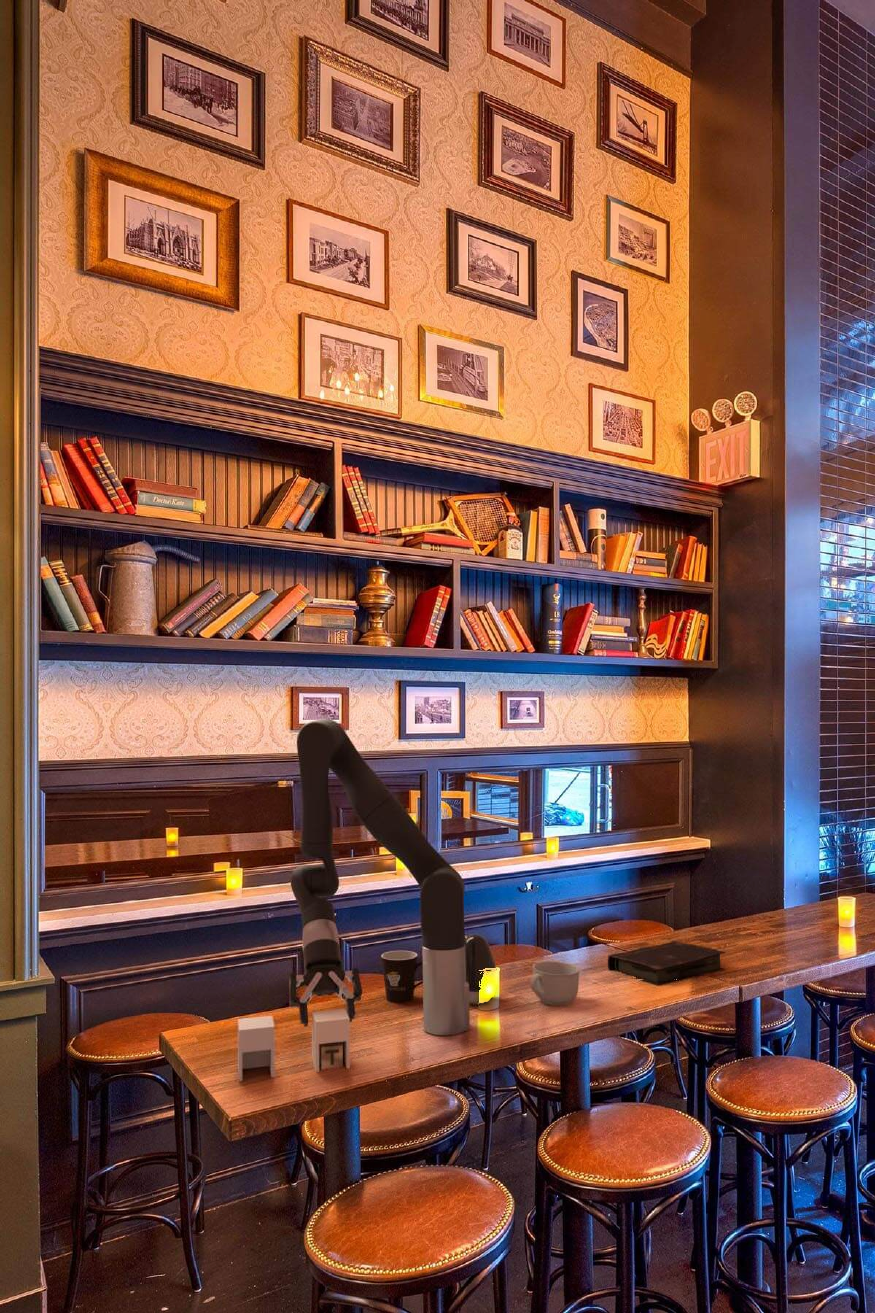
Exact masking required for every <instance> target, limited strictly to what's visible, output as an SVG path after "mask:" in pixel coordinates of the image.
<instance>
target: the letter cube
mask: <svg viewBox="0 0 875 1313" xmlns="http://www.w3.org/2000/svg"><path fill="white" fill-rule="evenodd" d="M343 1063H344V1060H343V1045H342V1043H341V1042H333V1043H324V1044H319V1067H320V1070H326V1068H328V1069H336V1068H337V1069H338V1068H343V1066H344V1065H343Z"/></svg>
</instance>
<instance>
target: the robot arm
mask: <svg viewBox="0 0 875 1313" xmlns="http://www.w3.org/2000/svg"><path fill="white" fill-rule="evenodd" d="M296 750H297V759H298V766H299V767H298V768H299V775H300V788H301V789H300V790H301V820H300V821H301V823H300V824H301V825H300V826H301V828H300V852H301V854H302V855H305V856H307V857H312V858H316V859H318V860H321V861H322V864H316V865H315V864H313V865H312V864H310V865H299V866H296V868H295V869H294V870H293V872H292V873H291V875H290V887H291V890H292V891H291V892H292V894H293V896H294V898H295V900H296V902H297V905H298V907H299V912H300V915H301V922H302V924H301V925H302V938H301V939H302V953H303V954H302V955H303V964H304V965H303V966H304V973H303V974H297V973H296V972H291V973H290V975H289V985H288V986H289V989H288V990H289V997H288V998H289V1002H288V1003H289V1007H290V1008H294V1007H296V1008H298V1009H299V1021H300V1024H301V1025H303V1027H308V1026H309V1014H308V1013H309V1012H308V1011H309V1010H308V1003H309V1002H310V1001H312V998H313V997H314V996H317V997H322V996H333V995H334V994H335V995H336V996H338V998H339V999H342V1000H343V1001H344V1002H345V1003H346V1004H345V1010H346V1012H347V1014H348V1016H349V1018H350V1023H353V1020H355V1015H356V1007H355V1002H360V1001H361V1000H362V995H363V987H362V983H361V978H360V977H361V976H360V973H359V969H358V968H357V967H353V968H352V969H351V970H344V969H343V965H342V955H341V949H340V948H341V947H340V938H339V932H338V929H337V924H336V923H337V922H336V914H335V907H334V905H333V903H332V901H330V900H328V899H326V898H331V897H334V895H335V894H336V893H337V892H338V890H339V887H340V878H339V874H338V870H337V865H336V862H335V857H334V851H333V850H334V849H333V840H334V839H333V838H334V835H333V834H334V813H333V807H332V802H331V798H330V791H329V775H330V774H329V772H330V771H331V772H332V773H333V774H334V775H335V776H336V778H337V779H338V780H339V781H340V783H341V785H342V786H343V789H344V791H345V793H346V795H347V798H348V801H349V803H350V805H351V807H352V809H353V812H354V814H355V815H356V817H357V818H358V820H359V822H361V824H362V825H363V826H364V827H365V828H366V829H367V831H368V832H369V833H370V835H371V837H373V838H374V839H375V840H376V841H377V842H378V843H379V844H380V845H381V846H382V847H383V848H384V849H386V850H387V851H388V852H389V853H391V855H393V856H394V857H395V858H397V860H399V861H400V862H401V863H402V864H403V865H404V866H405V867H406V869H407V870H408V871H409V872H410V874H411V876H412V877H413V878H414V879H415V881H416V883H417V884H418V887H420V891H419V892H420V893H419V897H420V898H419V907H420V912H419V914H420V933H421V940H422V941H421V944H422V945H421V946H422V953H421V954H422V962H423V965H422V980H423V983H422V1001H423V1002H422V1005H423V1006H422V1008H423V1010H422V1011H423V1018H422V1019H423V1020H422V1021H423V1030H424V1032H426V1033H429V1034H431V1035H435V1036H453V1035H458V1034H462V1033H464V1032H465V1031H470V1030H471V1025H470V1024H471V1022H470V1021H471V1019H470V1018H471V1016H470V1003H469V984H468V983H467V982H466V958H465V934H466V932H465V931H466V930H465V901H464V898H465V896H464V895H465V888H466V887H465V882H464V879H463V878H462V875H460V873H459V872H458V871H457V870H456V869H455V868H454V867H453V866H452V865H451V864H449V862H448V861H447V860H446V859H445V858H444V857H443V856H442V855H441V854H440V853H439V852H438V851H437V850H436V849H435V847H433V846H432V844H431V843H430V842H429V841H428V839H427V838H426V837H425V835H424V834H423V832H422V830H421V829H420V827H419V826H418V825H417V823H416V822H415V821H414V819H413V817H412V816H411V815H410V813H409V812H408V811H407V809H406V808H405V807H404V806H403V804H402V803H401V801H400V800H398V798H397V797H396V796H395V795H394V793H393V792H392V791H391V790H390V789H389V788H388V787H387V785H386V784H385V783H384V782H383V780H382V779H381V778H380V777H379V776H378V775H377V774H376V772H375V771H374V770H373V769H372V767H370V765H368V763H367V762H366V761H365V759H364V758H363V757H362V755H361V754H360V753H359V751H358V749H357V748H356V747H355V744H353V742H352V740H351V738H350V737H349V735H348V734H347V733H346V731H345V730H344V728H343V727H342V726H341V724H339V723H338V722H337V721H335V720H333V719H332V718H331V719H330V718H320V719H316V720H312V721H309V722H307V723H306V724H304V725H303V726H302V727H301V728H300V729H299V731H298V732H297V736H296ZM345 979H347V980H348V982H349V983H351V984H352V989H353V992H352V991H351V990H350V989H349V988H348V986H347V985H346V984H345V982H344V981H345ZM301 983H303V984H304V985H305V986H306V988H305V991H304V992H303V994H302V995H301V996H300V997H299V996H297V988H298V987H299V986H300V985H301Z"/></svg>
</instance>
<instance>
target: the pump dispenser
mask: <svg viewBox="0 0 875 1313" xmlns="http://www.w3.org/2000/svg"><path fill="white" fill-rule="evenodd" d="M465 958H466V982H467V983H468V984H469V1005H479V1004H478V1003H479V990H480V989H481V988H480V987H479V981H480V984H481V979H482V977H483V974H484V973H483V972H484V971H479V970H483V969H485V968H496V969H497V966H496V965H497V964H496V962H495V958H494V955H493V952H492V949H491V946H490V945H489V943H488V941H487V939H486V937H484V936H482V935H481V934H477V933H473V934H469V935H468V934H467V933H465ZM486 971H491V970H486ZM481 972H482V973H481ZM480 973H481V974H480ZM480 986H481V985H480Z"/></svg>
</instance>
